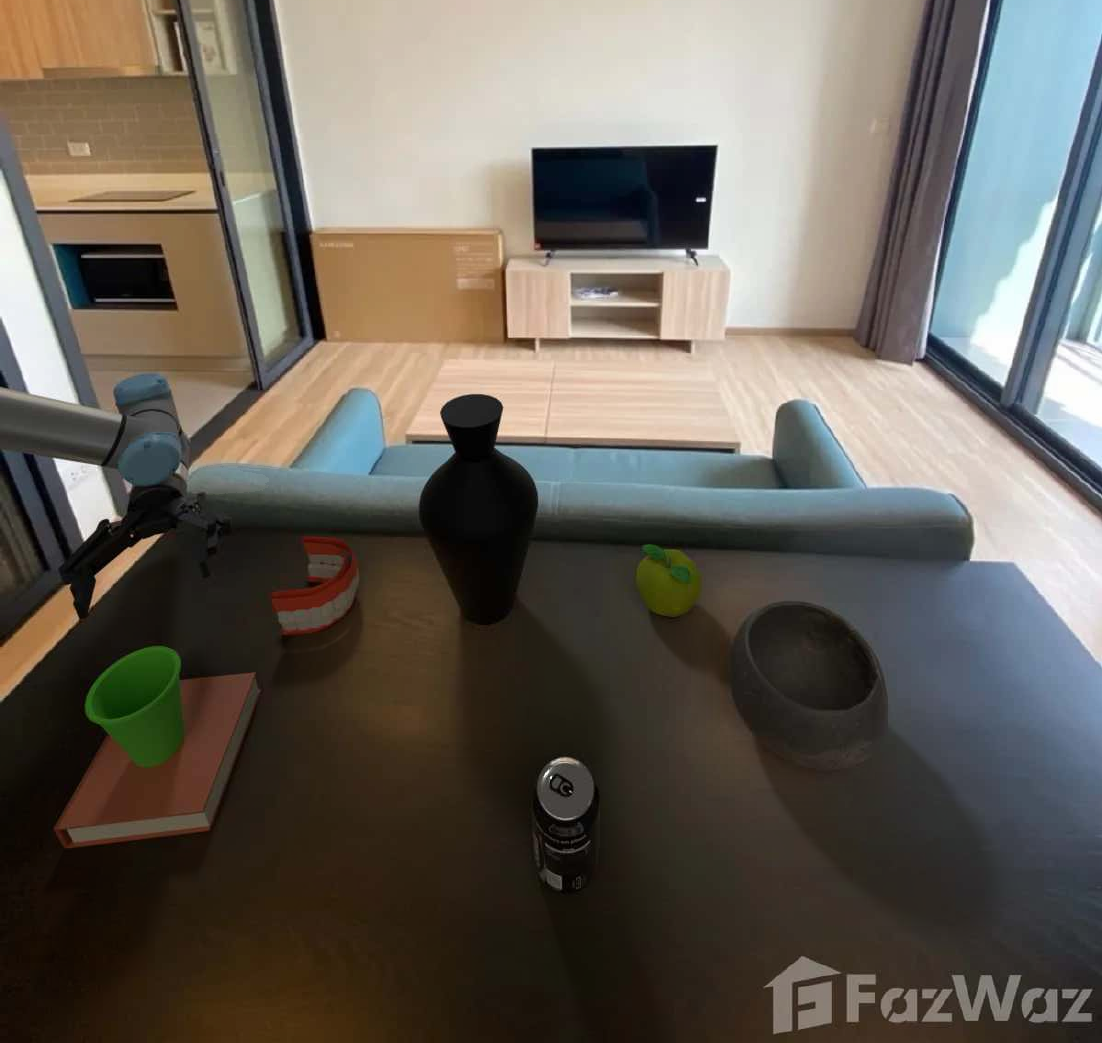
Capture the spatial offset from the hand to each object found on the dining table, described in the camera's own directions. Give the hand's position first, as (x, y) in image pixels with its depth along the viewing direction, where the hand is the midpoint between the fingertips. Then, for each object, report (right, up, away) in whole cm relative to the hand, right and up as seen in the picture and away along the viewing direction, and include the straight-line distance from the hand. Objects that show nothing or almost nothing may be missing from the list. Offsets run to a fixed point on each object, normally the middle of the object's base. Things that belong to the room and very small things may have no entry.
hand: (144, 589), depth 76 cm
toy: (+17, -11, +17) cm, 26 cm away
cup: (+6, -16, -6) cm, 18 cm away
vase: (+42, -10, +17) cm, 47 cm away
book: (+6, -19, -4) cm, 20 cm away
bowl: (+84, -16, -1) cm, 85 cm away
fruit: (+70, -10, +16) cm, 73 cm away
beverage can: (+54, -22, -13) cm, 60 cm away
